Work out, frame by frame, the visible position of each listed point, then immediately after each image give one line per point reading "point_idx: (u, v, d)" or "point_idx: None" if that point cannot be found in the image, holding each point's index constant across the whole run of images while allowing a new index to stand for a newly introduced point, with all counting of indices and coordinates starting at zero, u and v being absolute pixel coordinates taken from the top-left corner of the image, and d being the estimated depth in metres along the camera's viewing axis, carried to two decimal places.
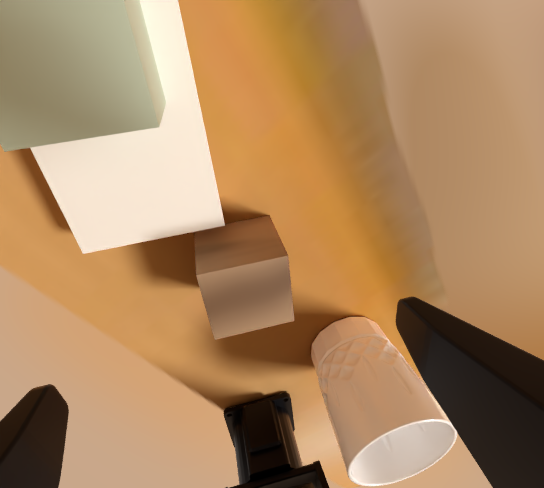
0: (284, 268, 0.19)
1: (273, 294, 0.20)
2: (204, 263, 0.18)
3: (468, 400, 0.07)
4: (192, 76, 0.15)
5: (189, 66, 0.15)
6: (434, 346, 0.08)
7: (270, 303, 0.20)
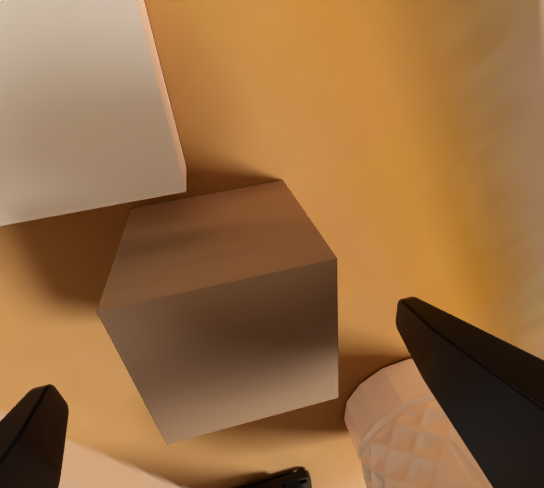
0: (325, 290, 0.08)
1: (297, 348, 0.08)
2: (128, 279, 0.07)
3: (468, 400, 0.07)
4: None
5: None
6: (434, 346, 0.08)
7: (288, 366, 0.09)
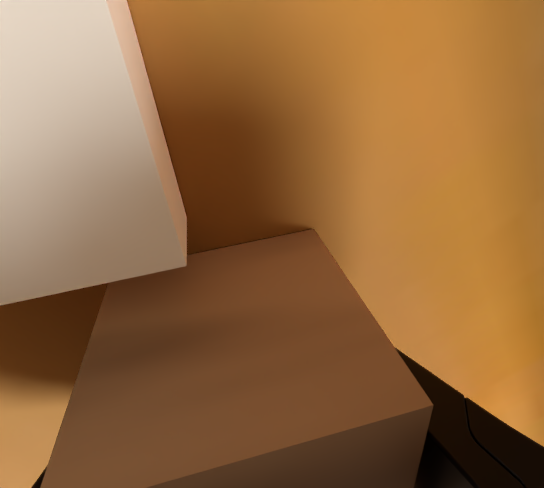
0: (407, 443, 0.05)
1: None
2: (92, 432, 0.05)
3: None
4: None
5: None
6: None
7: None
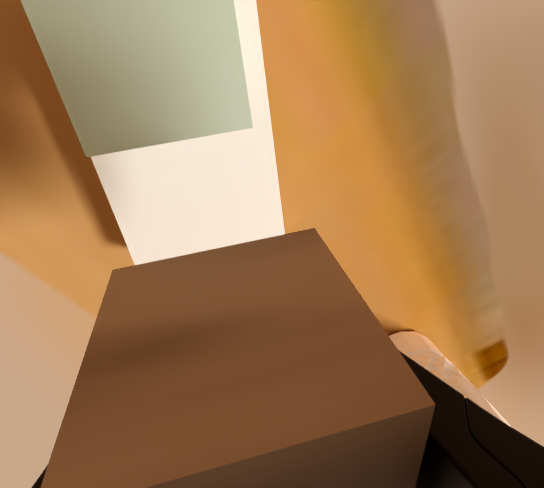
0: (409, 442, 0.05)
1: None
2: (93, 431, 0.05)
3: None
4: (264, 76, 0.14)
5: (261, 66, 0.14)
6: None
7: None
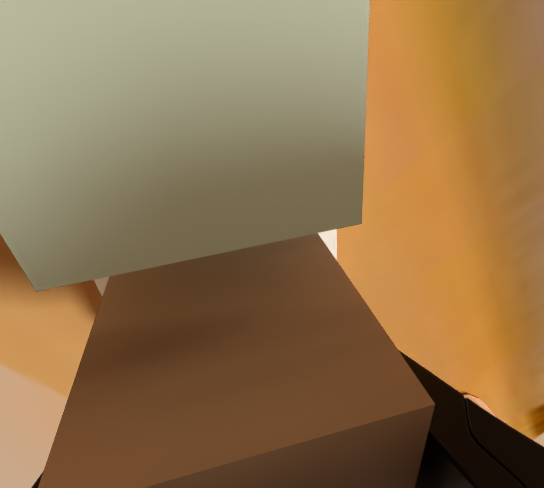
0: (409, 442, 0.05)
1: None
2: (90, 431, 0.05)
3: None
4: None
5: None
6: None
7: None
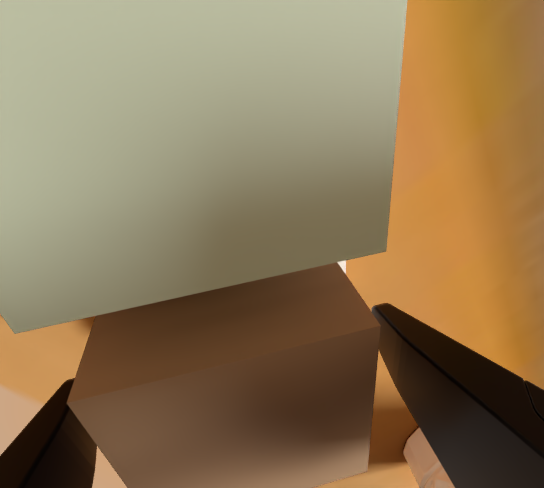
0: (363, 361, 0.06)
1: (324, 425, 0.07)
2: (111, 348, 0.06)
3: (436, 409, 0.07)
4: None
5: None
6: (404, 354, 0.08)
7: (311, 445, 0.07)
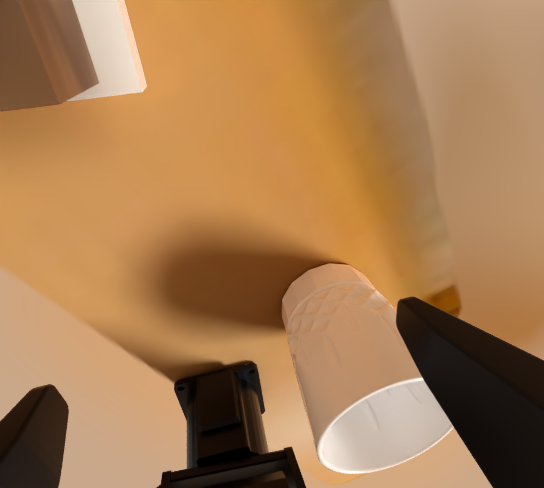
0: None
1: None
2: None
3: (468, 400, 0.07)
4: None
5: None
6: (434, 346, 0.08)
7: None
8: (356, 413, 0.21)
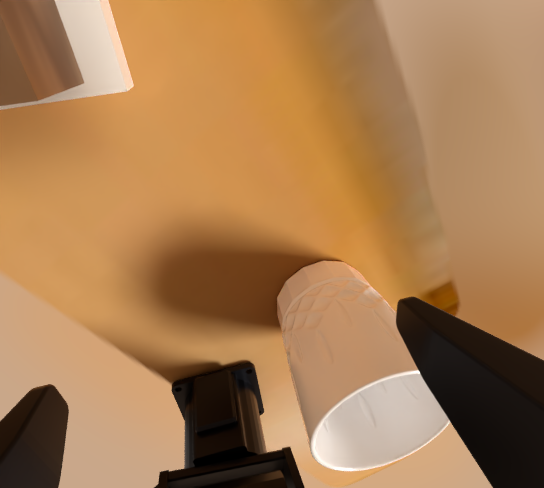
0: None
1: None
2: None
3: (468, 400, 0.07)
4: None
5: None
6: (434, 346, 0.08)
7: None
8: (352, 410, 0.21)
